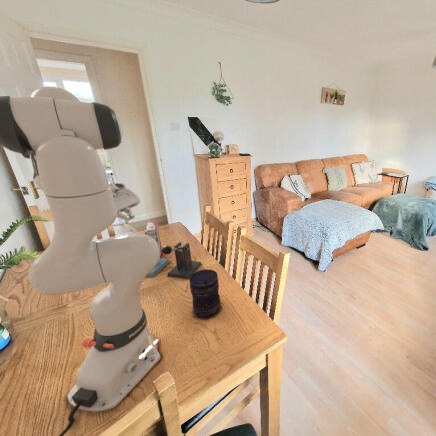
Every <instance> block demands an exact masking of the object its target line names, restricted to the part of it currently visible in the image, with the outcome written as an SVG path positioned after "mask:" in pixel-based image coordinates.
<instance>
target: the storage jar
mask: <svg viewBox="0 0 436 436" xmlns="http://www.w3.org/2000/svg"><path fill="white" fill-rule="evenodd" d="M218 277H219V276H218V273H217V272H216V271H215V270H214V269H201V270H198V271H197V270H196V271H195V272H194V273H193V274H192V275H191V276H190V278H189V279H188V281H189V289H190V293H191V296H192V309H193V314H194V316H195V317H196V318H197V319H203V320H207V319H210V318H211V319H212V318H213V317H215V316H216V315H217V314H219V312H220V310H221V297H220V293H219V288H220V285H219V278H218Z"/></svg>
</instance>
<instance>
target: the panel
mask: <svg viewBox="0 0 436 436" xmlns="http://www.w3.org/2000/svg"><path fill="white" fill-rule="evenodd" d="M169 260H170V259H169V258H162V257H161V258H160V259H159V261H158V263H157V265H156V266H155V267H154V268H153V269H152V270H151V271H150V272H149V273H148V274H147V276H146V277H147V278H154V277H156V275H157V274H158V273H160V272H161V271H162V270H164V268H165V267H167V266H168V265H169V263H170V261H169Z"/></svg>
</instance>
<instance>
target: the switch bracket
mask: <svg viewBox="0 0 436 436" xmlns="http://www.w3.org/2000/svg"><path fill="white" fill-rule="evenodd" d="M179 245H182V242H181V241H178V243H175V245H174V246H173V248H177V247H178V246H179ZM174 257H175V263H176V265H175V266H174V267H172V269H171V270H170V271H168V273H167V276H168V277H171V278H178V279H179V278H180V279H186V280H189V279H190V277H191V275H192V274H194V273H195V272H197V270H198V269H199V268H200V267H201V265H202V261H198V260H192V253H191V246H190V242H186V243H185V244H184V246H183V247H182V251H178V250H175V251H174Z"/></svg>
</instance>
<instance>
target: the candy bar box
mask: <svg viewBox="0 0 436 436" xmlns="http://www.w3.org/2000/svg"><path fill="white" fill-rule="evenodd" d="M144 232H145V233H144V234H145V235H149V236H150V237H152V238H153V239H154V240H155V241H156V242H157V244H158V245H159V248H160V258H162V249H163V247H162V243H161V237H160V236H161V235H160V231H159V226H158V221H154V222H147V223H146V226H145V230H144Z"/></svg>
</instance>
